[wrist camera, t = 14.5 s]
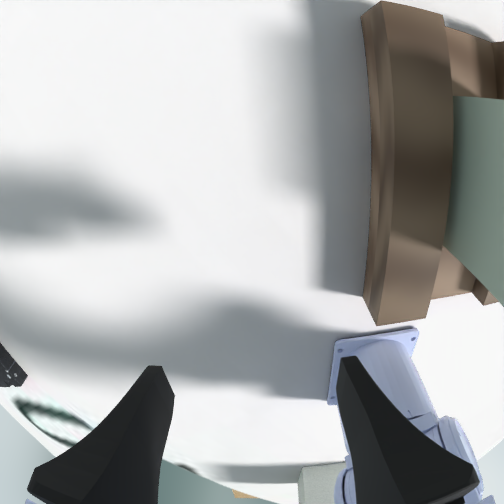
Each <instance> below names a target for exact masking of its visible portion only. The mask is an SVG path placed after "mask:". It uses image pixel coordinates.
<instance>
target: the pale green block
mask: <svg viewBox="0 0 504 504" xmlns="http://www.w3.org/2000/svg"><path fill="white" fill-rule="evenodd" d="M443 246H444V247H445V248H446V249H447V250H448V251H449V252H450V253H451V254H453V255H454V256H455V257H456V258H457V259H458V260H459V261H460V262H461V263H462V264H463V265H464V266H465V267H466V268H467V269H468V270H469V271H470V272H471V273H472V274H473V275H474V276H475V277H476V278H477V279H478V280H479V281H480V282H481V283H482V284H483V285H484V286H485V287H486V288H487V289H488V290H489V291H490V292H491V294H492V295H493V296H494V297H495V298H496V299H497V300H498V301H499V302H500V303H501V304H502V306H503V307H504V100H500V99H490V98H479V97H465V96H453V162H452V177H451V188H450V198H449V207H448V215H447V222H446V228H445V235H444V241H443Z"/></svg>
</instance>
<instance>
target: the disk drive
mask: <svg viewBox="0 0 504 504" xmlns="http://www.w3.org/2000/svg"><path fill="white" fill-rule="evenodd" d="M27 376H28V375H27V374H26V373H25V372H24V371H23V370H22V368H21V367H20V366H19V365H18V364H17V362H16V361H15V360H14V359H13V358H12V357H11V355H10V354H9V353H8V352H7V351H6V349H5V348H4V347H3V346H2V344H1V343H0V387H10V386H11V385H14V386H15V387H18V386H19V387H20V386H22V384H23V383H24V381H25V379H26V378H27Z"/></svg>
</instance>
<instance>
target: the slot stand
mask: <svg viewBox="0 0 504 504" xmlns="http://www.w3.org/2000/svg"><path fill="white" fill-rule="evenodd" d="M361 23H362V29H363V37H364V44H365V53H366V62H367V72H368V84H369V98H370V116H371V205H370V225H369V240H368V252H367V263H366V273H365V282H364V291H363V299H364V301H365V303H366V305H367V307H368V309H369V311H370V313H371V316H372V318H373V320H374V322H375V324H376V326H381V325H388V324H394V323H400V322H406V321H412V320H418V319H423V318H426V315H427V311H428V308H429V304H430V300H431V299H437V298H443V297H449V296H454V295H460V294H465V293H470V292H472V293H473V294H474V296H475V297H476V298H477V299H478V300H479V301H480V302H481V304H482V305H483V306H484V305H488V304H492V303H496V302H499V301H498V300H497V299H496V298H495V297H494V296H493V295H492V294H491V292H490V291H489V290H488V289H487V288H486V287H485V286H484V285H483V284H482V283H481V282H480V281H479V280H478V279H477V278H476V277H475V276H474V275H473V274H472V273H471V272H470V271H469V270H468V269H467V268H466V267H465V266H464V265H463V264H462V263H461V262H460V261H459V260H458V259H457V258H456V257H455V256H454V255H453V254H451V253H450V252H449V251H448V250H447V249H446V248H445V247H444V246H443V241H444V235H445V228H446V222H447V215H448V207H449V198H450V188H451V177H452V162H453V96H465V97H479V98H490V99H500V100H504V41H503V42H494V43H491V42H489V41H486V40H484V39H481V38H478V37H476V36H473V35H470V34H467V33H464V32H461V31H458V30H455V29H452V28H449V27H445V24H444V19H443V15H441V14H438V13H434V12H431V11H427V10H423V9H419V8H415V7H411V6H407V5H402V4H397V3H392V2H387V1H380V2H378V3H377V4H376V5H374V6H373V7H372V8H371V9H369V10H368V11H367V12H366V13H364V14H363V15H362V16H361Z"/></svg>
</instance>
